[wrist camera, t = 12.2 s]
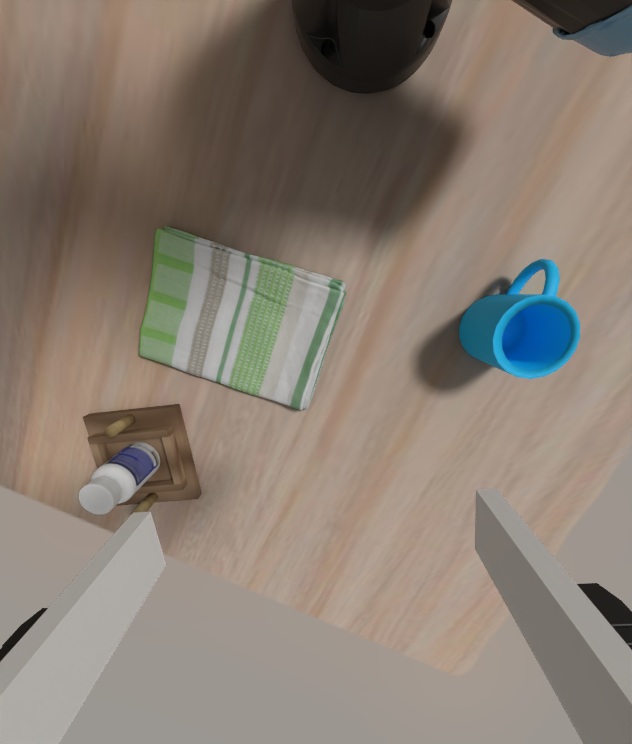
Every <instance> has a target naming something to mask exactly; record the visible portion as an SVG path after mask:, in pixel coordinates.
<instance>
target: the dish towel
mask: <svg viewBox="0 0 632 744" xmlns="http://www.w3.org/2000/svg"><path fill="white" fill-rule="evenodd" d="M345 286H346V284H345V283H343V282H342V281H340V280H335V279H332V278H330V277H328V276H324V275H321V274H318V273H314V272H311V271H307V270H303V269H300V268H297V267H294V266H291V265H288V264H285V263H281V262H279V261H275V260H273V259H267V258H263V257H258V256H254V255H250V254H247V253H244V252H241V251H237V250H235V249H233V248H230V247H227V246H225V245H222V244H220V243H216V242H212V241H209V240H206V239H203V238H200V237H197V236H195V235H192V234H189V233H186V232H183V231H180V230H176V229H174V228H171V227H168V226H164V230H161V229H157V230H156V233H155V242H154V253H153V266H152V276H151V283H150V289H149V296H148V301H147V306H146V311H145V315H144V319H143V322H142V325H141V330H140V345H139V355H140V356H142V357H144V358H147V359H151V360H154V361H157V362H160V363H163V364H166V365H169V366H171V367H174V368H177V369H179V370H182V371H184V372H187V373H189V374H192V375H195V376H199V377H202V378H206V379H209V380H212V381H215V382H218V383H220V384H223V385H226V386H228V387H231V388H233V389H236V390H239V391H243V392H245V393H249V394H251V395H255V396H259V397H262V398H265V399H269V400H272V401H276V402H279V403H281V404H284V405H287V406H290V407H292V408H295V409H297V410H300V411H301V410H302V409H308V407H309V403H310V401H311V398H312V395H313V392H314V389H315V387H316V384H317V381H318V378H319V375H320V371H321V368H322V365H323V361H324V358H325V355H326V351H327V348H328V345H329V342H330V339H331V336H332V334H333V331H334V328H335V325H336V323H337V320H338V318H339V315H340V312H341V310H342V307H343V304H344V299H345V294H346V291H345V290H344V288H345Z"/></svg>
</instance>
